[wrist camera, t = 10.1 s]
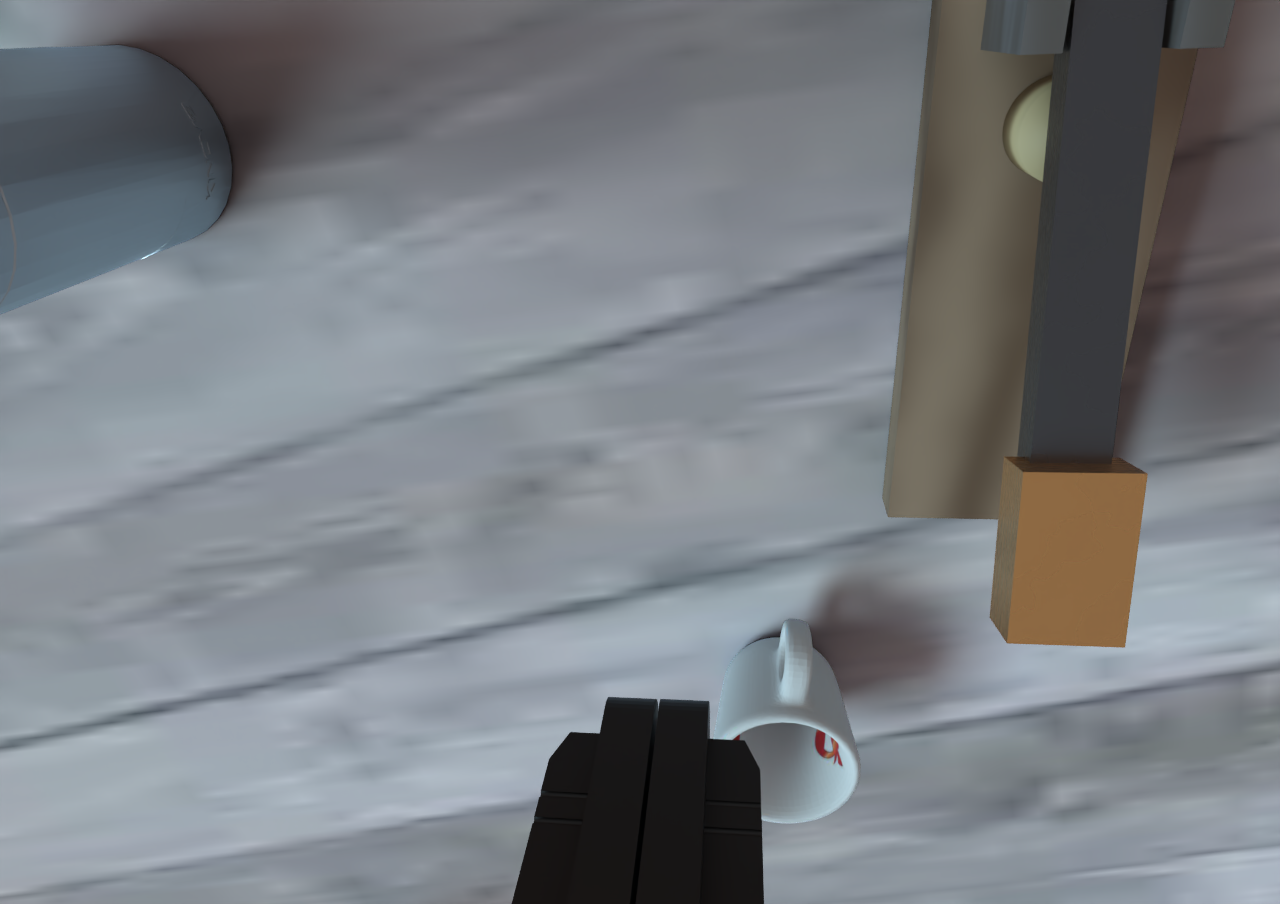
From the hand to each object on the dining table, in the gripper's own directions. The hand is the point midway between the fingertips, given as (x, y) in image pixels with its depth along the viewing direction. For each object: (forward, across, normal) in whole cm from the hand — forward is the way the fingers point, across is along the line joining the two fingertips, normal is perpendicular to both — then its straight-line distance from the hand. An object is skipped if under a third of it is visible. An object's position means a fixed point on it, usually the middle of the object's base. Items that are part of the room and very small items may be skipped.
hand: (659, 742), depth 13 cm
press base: (+32, -14, +1) cm, 35 cm away
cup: (+32, -4, +25) cm, 41 cm away
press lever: (+24, -14, +2) cm, 28 cm away
